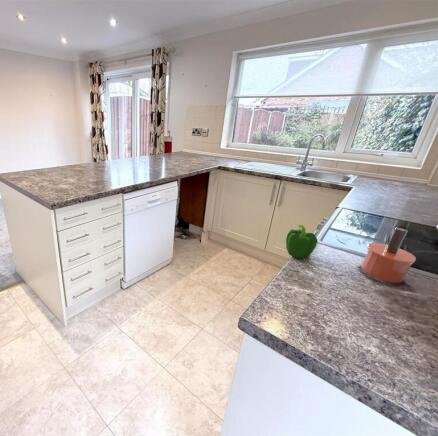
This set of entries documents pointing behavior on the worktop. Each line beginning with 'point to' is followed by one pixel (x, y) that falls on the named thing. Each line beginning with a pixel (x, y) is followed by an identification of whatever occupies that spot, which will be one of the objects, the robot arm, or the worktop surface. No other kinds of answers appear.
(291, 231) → the bell pepper
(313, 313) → the worktop surface
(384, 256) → the lid
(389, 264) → the pot
